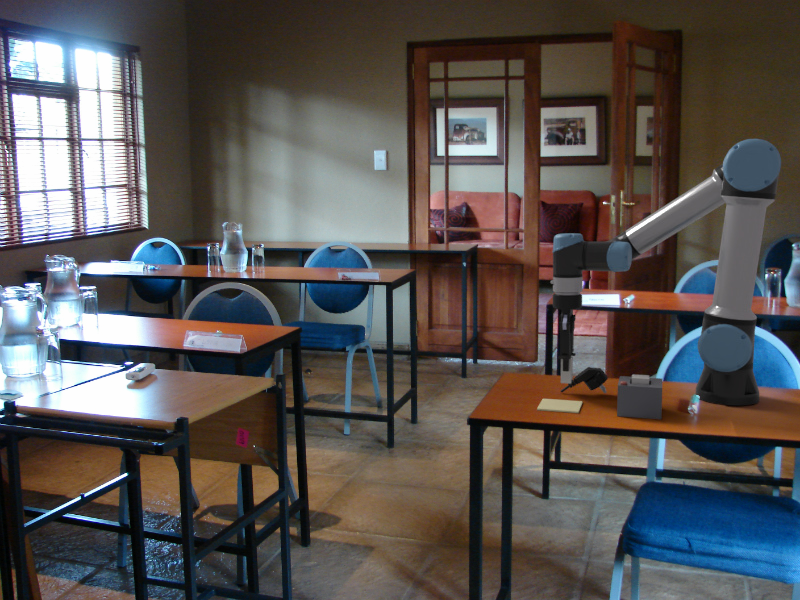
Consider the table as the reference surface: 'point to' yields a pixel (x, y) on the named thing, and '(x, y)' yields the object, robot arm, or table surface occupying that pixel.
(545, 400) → the pad
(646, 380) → the button
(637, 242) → the robot arm
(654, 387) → the switch box
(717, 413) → the table surface
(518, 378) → the table surface
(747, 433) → the table surface
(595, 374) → the power plug
